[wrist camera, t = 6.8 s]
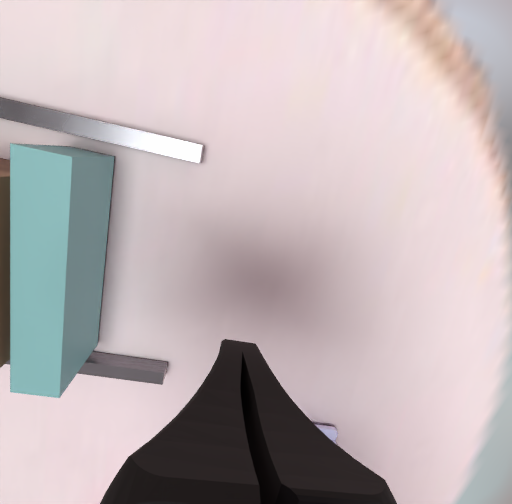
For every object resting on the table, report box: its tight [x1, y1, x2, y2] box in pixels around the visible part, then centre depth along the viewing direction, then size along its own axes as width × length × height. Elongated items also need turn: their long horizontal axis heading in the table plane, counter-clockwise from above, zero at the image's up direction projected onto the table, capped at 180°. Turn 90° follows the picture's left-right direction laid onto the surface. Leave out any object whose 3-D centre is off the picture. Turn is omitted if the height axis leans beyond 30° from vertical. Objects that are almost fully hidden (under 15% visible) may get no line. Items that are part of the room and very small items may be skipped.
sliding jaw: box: [10, 143, 115, 398], centre depth 17 cm, size 3×13×5 cm, turn 167°
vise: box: [0, 97, 204, 384], centre depth 17 cm, size 16×16×6 cm
